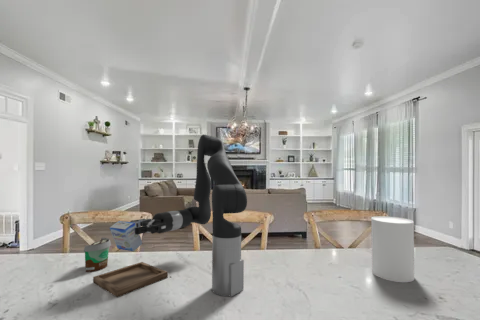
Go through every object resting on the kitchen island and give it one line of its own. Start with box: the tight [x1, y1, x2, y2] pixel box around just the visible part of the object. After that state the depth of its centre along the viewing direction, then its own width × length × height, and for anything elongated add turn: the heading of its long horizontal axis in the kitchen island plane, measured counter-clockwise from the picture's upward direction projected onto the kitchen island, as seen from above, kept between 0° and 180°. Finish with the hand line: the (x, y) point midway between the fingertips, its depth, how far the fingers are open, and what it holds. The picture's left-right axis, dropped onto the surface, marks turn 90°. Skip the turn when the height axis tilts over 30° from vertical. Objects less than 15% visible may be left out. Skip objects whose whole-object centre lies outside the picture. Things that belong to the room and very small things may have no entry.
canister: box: [370, 215, 415, 283], centre depth 97 cm, size 14×14×20 cm
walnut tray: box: [92, 261, 169, 298], centre depth 90 cm, size 16×18×2 cm
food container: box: [83, 237, 112, 273], centre depth 102 cm, size 12×6×10 cm, turn 179°
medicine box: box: [109, 220, 143, 252], centre depth 89 cm, size 8×4×9 cm, turn 63°
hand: (128, 229), depth 90 cm, fingers closed on medicine box, 8 cm apart
